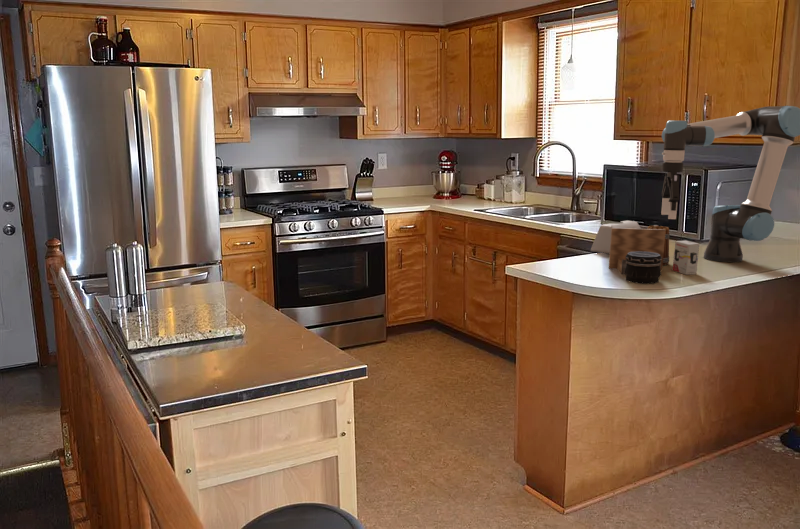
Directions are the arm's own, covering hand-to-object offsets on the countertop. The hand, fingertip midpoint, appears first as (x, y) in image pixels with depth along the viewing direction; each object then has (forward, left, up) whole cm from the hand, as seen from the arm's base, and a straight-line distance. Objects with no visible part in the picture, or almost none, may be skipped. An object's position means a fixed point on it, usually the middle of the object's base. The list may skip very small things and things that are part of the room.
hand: (668, 216), depth 277 cm
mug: (+1, -14, -21) cm, 25 cm away
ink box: (-6, +5, -21) cm, 22 cm away
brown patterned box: (+11, +8, -21) cm, 25 cm away
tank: (+10, -40, -21) cm, 47 cm away
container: (+13, +24, -21) cm, 34 cm away
